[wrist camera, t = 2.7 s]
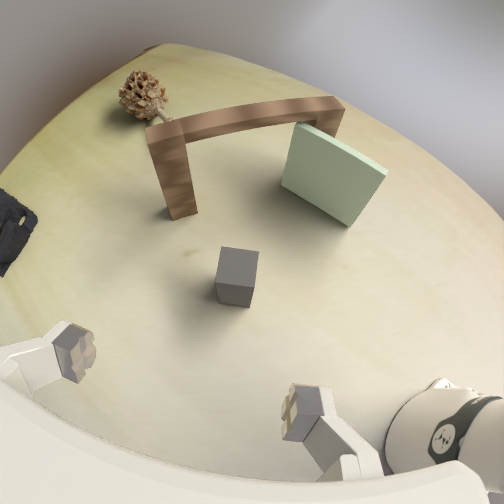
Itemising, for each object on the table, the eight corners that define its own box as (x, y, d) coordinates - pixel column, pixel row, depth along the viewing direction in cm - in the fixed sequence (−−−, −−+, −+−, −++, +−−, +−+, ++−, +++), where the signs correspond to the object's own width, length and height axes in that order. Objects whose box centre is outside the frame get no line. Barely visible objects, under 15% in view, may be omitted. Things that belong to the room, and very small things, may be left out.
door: (280, 185, 44) (294, 124, 32) (289, 175, 45) (304, 115, 33) (350, 227, 41) (385, 175, 30) (356, 215, 43) (391, 163, 31)
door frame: (309, 168, 47) (333, 96, 32) (317, 181, 45) (345, 108, 31) (168, 205, 42) (144, 128, 27) (172, 220, 41) (147, 144, 26)
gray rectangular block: (253, 279, 38) (258, 251, 29) (249, 307, 36) (254, 287, 28) (224, 275, 38) (221, 246, 29) (219, 303, 36) (214, 282, 28)
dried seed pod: (115, 111, 52) (105, 77, 43) (150, 92, 55) (143, 59, 46) (160, 155, 46) (149, 114, 37) (202, 131, 49) (199, 90, 40)
